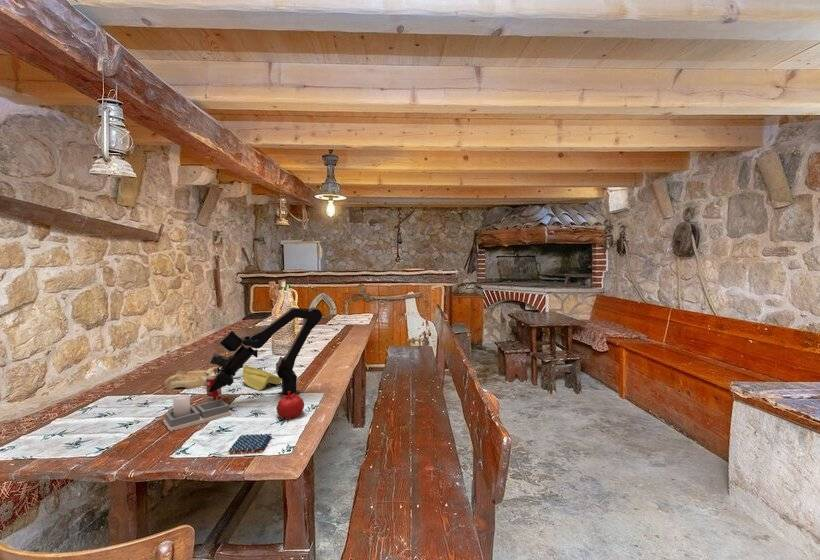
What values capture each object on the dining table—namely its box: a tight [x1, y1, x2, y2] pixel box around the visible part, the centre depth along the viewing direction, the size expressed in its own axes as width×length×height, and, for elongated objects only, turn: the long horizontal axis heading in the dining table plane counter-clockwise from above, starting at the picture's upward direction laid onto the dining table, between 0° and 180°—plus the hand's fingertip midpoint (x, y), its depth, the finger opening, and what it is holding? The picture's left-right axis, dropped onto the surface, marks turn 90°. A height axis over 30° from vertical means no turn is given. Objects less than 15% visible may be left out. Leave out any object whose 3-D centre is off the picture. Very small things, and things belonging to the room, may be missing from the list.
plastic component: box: [242, 365, 282, 391], centre depth 183 cm, size 20×7×10 cm
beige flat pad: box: [163, 367, 217, 390], centre depth 187 cm, size 24×24×5 cm
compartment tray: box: [163, 394, 232, 432], centre depth 144 cm, size 20×10×9 cm, turn 133°
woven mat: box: [228, 433, 273, 455], centre depth 124 cm, size 10×11×2 cm
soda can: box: [205, 373, 223, 402], centre depth 157 cm, size 5×5×12 cm
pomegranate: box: [276, 391, 305, 420], centre depth 147 cm, size 10×10×9 cm
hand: (210, 389), depth 157 cm, fingers closed on soda can, 5 cm apart
